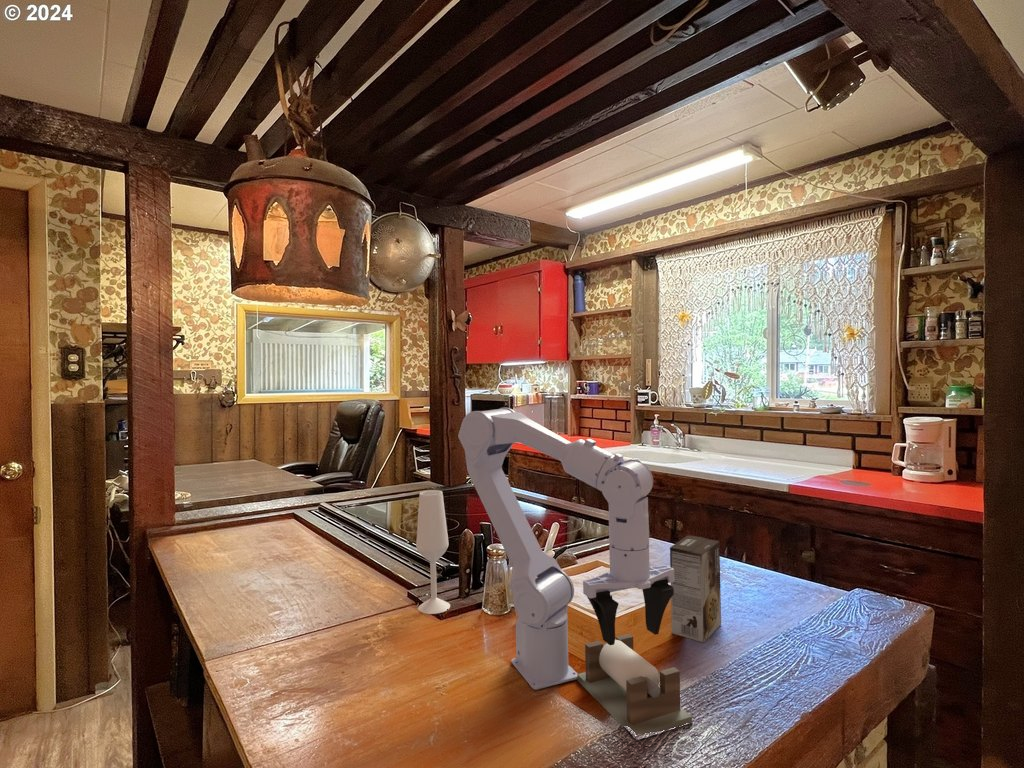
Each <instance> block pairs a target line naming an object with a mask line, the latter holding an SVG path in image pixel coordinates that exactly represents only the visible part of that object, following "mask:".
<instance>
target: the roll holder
mask: <svg viewBox="0 0 1024 768" xmlns="http://www.w3.org/2000/svg"><path fill="white" fill-rule="evenodd" d="M615 640H619V641H622V642H623V643H624V644H625V645H627V646H628V647H629V648H631V649H632V650H633V651H634V652H635V650H634V636H633V635H632V634H631V633H626V634H623V635H617V636H616V635H615ZM603 644H604V643H603V642H602V641H600V640H597V641H593V642H592V641H591V642H588V643H585V644H584V650H585V652H584V655H585V657H584V658H585V662H584V664H585V665H584V666H585V671H583V672H581V673H577V679H576V680H577V682H579V683H580V685H581V686H582V687H583V688H584V689H585V690H586V691H587V692H588V693H589V694H590V695H591V696H592V697H593V698H594V699H595V700H596V701H597V702H598V703H599V704H600V705H601V706H602V707H603V708H604V709H605V710H606V711H607V712H608V714H609V715H611V717H612V718H614V719H615V720H616V722H617V723H618V724H619V725H620V726H621V727H622V726H628V727H630V728H631V729H632V730H633V731H634V732H635V733H636V735H638V734H645V733H650V732H657V731H663V730H667V729H670V728H674V727H677V726H681V725H684V724H686V723H691V722H692V723H693V716H692V715H691V714H690V713H689V712H688V711H686V709H684V708H683V707H681V671H680V670H679V669H678V668H676V667H675V666H673V667H669V668H666V669H662V670H659V687H660V694H659V696H658V697H656V698H653V697H652V696H651V695H649V694H648V693H647V680H646V679H645V678H644V677H642V676H639V677H636V678H632V679H628V680H626V690H625V689H624V688H623V687H621V686H620V685H619V684H618V683H617V682H616V681H615V680H614V679H613V678H612V677H610V676H609V675H608V674H607V673H606V672H605V671H604V670H603V669H602V668H601V666H600V663H599V656H600V652H601V650H602V648H603Z"/></svg>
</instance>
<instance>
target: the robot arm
mask: <svg viewBox="0 0 1024 768" xmlns="http://www.w3.org/2000/svg"><path fill="white" fill-rule="evenodd" d="M459 428H460V429H459V431H458V435H457V437H458V440H459V442H460V444H461V446H462V448H463V450H464V454H465V455H464V456H465V464H466V469H467V473H468V477H470V480H471V482H472V483H473V486H474V488H475V491H476V493H477V494H478V497H479V499H480V501H481V503H482V505H483V507H484V510H485V511H486V514H487V515H488V518H489V520H490V521H491V524H492V526H493V528H494V530H495V532H496V535H497V537H498V539H499V541H500V543H501V545H502V548H503V550H504V551H505V552H504V553H505V554H506V556H507V558H508V560H509V562H510V564H511V567H512V572H511V575H510V578H509V583H508V587H509V589H510V591H511V594H512V598H513V607H514V610H515V613H516V615H517V618H516V622H515V646H516V647H515V651H516V653H515V654H516V655H515V657H514V658H512V659H510V660H511V664H512V665H513V666H514V668H515V669H516V670H517V671H518V672H519V673H520V675H521V677H523V679H524V680H525V681H526V682H527V683H528V684H529V686H530V687H531V688H532V690H536V691H537V690H541V689H544V688H549V687H552V686H556V685H561V684H564V683H567V682H570V681H575V680H577V674H578V672H576V671H575V670H574V668H573V667H572V666H570V665H569V638H568V637H569V633H568V632H569V631H568V630H569V629H568V628H569V627H568V605H570V603H571V602H572V601H573V600H574V595H575V587H574V583H573V580H572V579H571V578H570V576H569V574H568V573H566V572H565V571H564V570H563V569H562V568H561V567H560V565H559V564H558V561H557V559H556V558H554V557H553V556H550V555H549V554H547V553H545V552H544V551H543V550H542V547H541V546H540V544H539V542H538V540H537V538H536V537H537V536H536V535H535V534H534V531H533V529H532V527H531V525H530V523H529V521H528V519H527V517H526V515H525V513H524V511H523V509H522V507H521V505H520V503H519V501H518V499H517V496H516V494H515V492H514V491H513V489H512V486H511V484H510V483H509V481H508V479H507V476H506V475H505V472H504V470H503V464H504V460H505V458H506V455H507V454H508V452H510V450H511V448H512V447H513V445H514V444H515V443H518V444H519V443H520V444H522V445H524V446H526V447H529V448H530V449H532V450H533V449H534V451H537V452H540V453H542V454H544V455H546V456H549V457H550V458H553V459H555V460H557V461H560V462H561V465H562V468H563V470H564V472H565V473H566V474H568V475H570V476H572V477H574V478H575V479H577V480H579V481H581V482H583V483H585V484H587V485H588V486H591V487H592V488H595V489H596V490H598V491H600V492H601V493H602V495H603V497H604V499H605V500H606V501H607V503H608V542H609V548H608V549H609V570H608V571H607V572H604V573H602V574H599V575H597V576H595V577H592V578H589V579H584V580H582V583H583V584H582V585H583V586H582V587H583V589H582V590H583V591H582V593H583V595H585V597H586V598H587V599H588V601H589V602H590V605H591V607H592V609H593V611H594V613H595V615H596V618H597V621H598V624H599V628H600V631H601V637H602V641H604V642H605V644H609V645H614V643H615V640H616V617H617V612H618V608H619V602H618V601H616V600H614V599H613V595H611V593H614V592H618V591H619V592H620V591H623V590H629V589H637V590H641V591H642V595H643V600H644V611H645V612H644V613H645V614H644V615H645V627H646V630H647V631H648V632H650V633H651V634H653V635H654V636H655V635H658V634H659V632H660V628H661V624H662V620H663V616H664V613H665V611H666V608H667V606H668V604H669V603H670V601H671V597H672V596H673V594H674V587H673V586H671V582H674V569H673V568H671V567H670V565H658V566H657V565H656V566H650V529H649V528H650V525H649V523H650V521H649V517H650V516H649V497H648V496H647V495H648V494H649V493H650V492H651V491H652V488H653V486H654V477H653V476H654V475H653V474H652V471H651V470H650V469H649V467H648V466H647V465H646V464H644V463H643V462H642V461H640V460H639V459H628V460H624V455H622V454H620V453H615V454H613V453H612V452H609V451H607V450H605V449H603V448H601V447H599V446H597V445H596V443H597V441H596V440H593V439H591V438H587V439H586V438H585V439H582V438H579V439H577V440H574V441H573V442H572V441H569V440H568V439H566V438H564V437H562V436H560V435H559V434H557V433H556V432H553V431H552V430H550V429H548V428H547V427H544V426H543V425H542V424H540V423H538V422H536V421H534V420H532V419H530V418H529V417H527V416H526V415H525V414H524V413H522V412H519V411H515V410H514V409H512V408H509V407H500V408H498V409H497V408H496V409H489V410H473V411H470V412H468V413H467V414H466V415H465V416H464V418H463V419H462V422H461V425H460V427H459ZM669 583H670V584H669Z"/></svg>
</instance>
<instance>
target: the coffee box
mask: <svg viewBox="0 0 1024 768" xmlns="http://www.w3.org/2000/svg"><path fill="white" fill-rule="evenodd" d="M720 553H721V552H720V540H716V539H715V540H714V539H709V538H706V537H702V536H695V535H690V534H689V535H686V536H685V537H683V538H682V539H680V540H679V541H677V542H675V544H673V545H671V546H670V547H669V559H670V560H669V562H670V563H669V564H670V565H669V567H671V568H673V569H674V582H670V585H671V586H673V587H674V594H673V596H672V597H671V599H670V619H671V620H670V622H671V624H670V625H671V633H672V634H673V635H675V636H680V637H683V638H687V639H690V640H693V641H697V642H700V643H705V642H706V641H707V640H708V639H710V638H711V636H712V635H713V634H714V632H716V630H717V629H718V628H719V627H720V626H721V625H722V600H721V599H722V598H721V597H722V596H721V594H722V593H721V560H720V559H721V557H720Z"/></svg>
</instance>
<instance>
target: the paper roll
mask: <svg viewBox="0 0 1024 768" xmlns="http://www.w3.org/2000/svg"><path fill="white" fill-rule="evenodd" d="M633 650H634V649H633ZM633 650H632V649H631V648H629V647H628V646H627V645H625V644H624V643H623V642H622V641H619V640H616V639H615V643H614V645H609V644H607V643H603V648H602V650H601V652H600V656H599V663H600V666H601V668H602V669H603V670H604V671H605V672H606V673H607V674H608V675H609V676H610V677H612V678H613V679H614V680H615V681H616V682H617V683H618V684H619V685H620V686H621V687H623V688H624V689H625V690H626V680H628V679H632V678H636V677H639V676H642V677H644V678H645V679H646V680H647V693H648V694H649V695H651V696H652V697H653V698H656V697H658V696H659V694H660V672H659V671H658V670H657V668H656V667H655V666H654V665H653V664H651V663H650V662H648V661H647V660H646V659H644V657H642V656H641V655H640V654H638V653H637V652H636V651H635V650H634V651H633Z"/></svg>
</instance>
